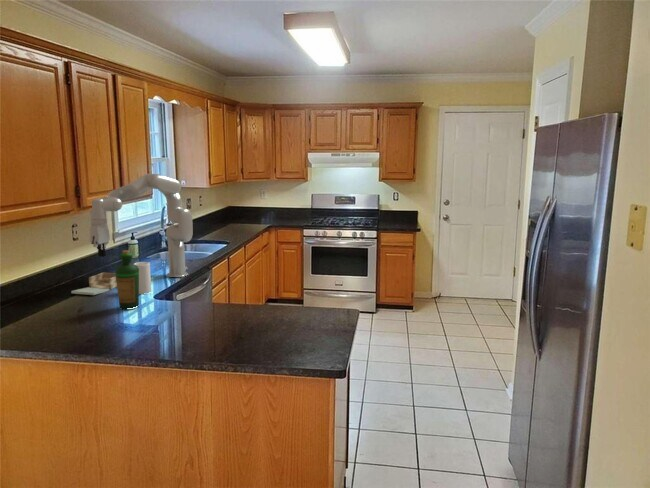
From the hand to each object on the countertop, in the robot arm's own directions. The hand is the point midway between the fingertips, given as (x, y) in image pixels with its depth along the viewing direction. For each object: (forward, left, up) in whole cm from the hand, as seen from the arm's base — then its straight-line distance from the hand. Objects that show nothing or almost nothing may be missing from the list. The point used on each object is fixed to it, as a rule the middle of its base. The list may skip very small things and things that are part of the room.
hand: (102, 256), depth 243 cm
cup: (-4, +20, -20) cm, 29 cm away
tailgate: (-2, -5, -19) cm, 20 cm away
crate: (-9, -5, -20) cm, 22 cm away
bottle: (+21, +28, -20) cm, 40 cm away
